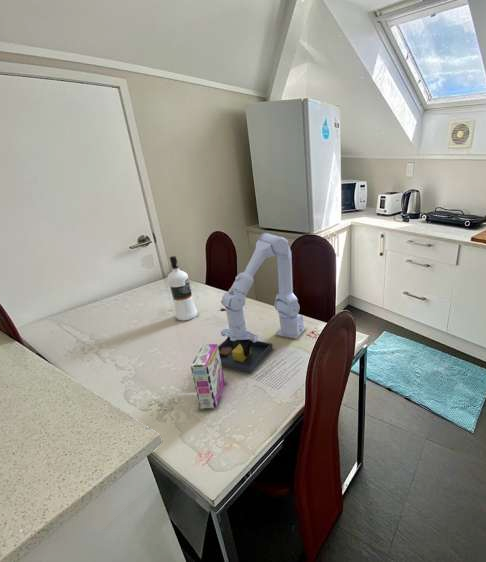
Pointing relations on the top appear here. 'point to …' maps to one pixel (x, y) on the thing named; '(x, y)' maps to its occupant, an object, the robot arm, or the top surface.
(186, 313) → the vodka
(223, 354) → the scrap
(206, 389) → the candy bar box
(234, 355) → the sponge
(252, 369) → the dark grey tray
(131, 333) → the top surface
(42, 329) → the top surface
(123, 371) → the top surface
